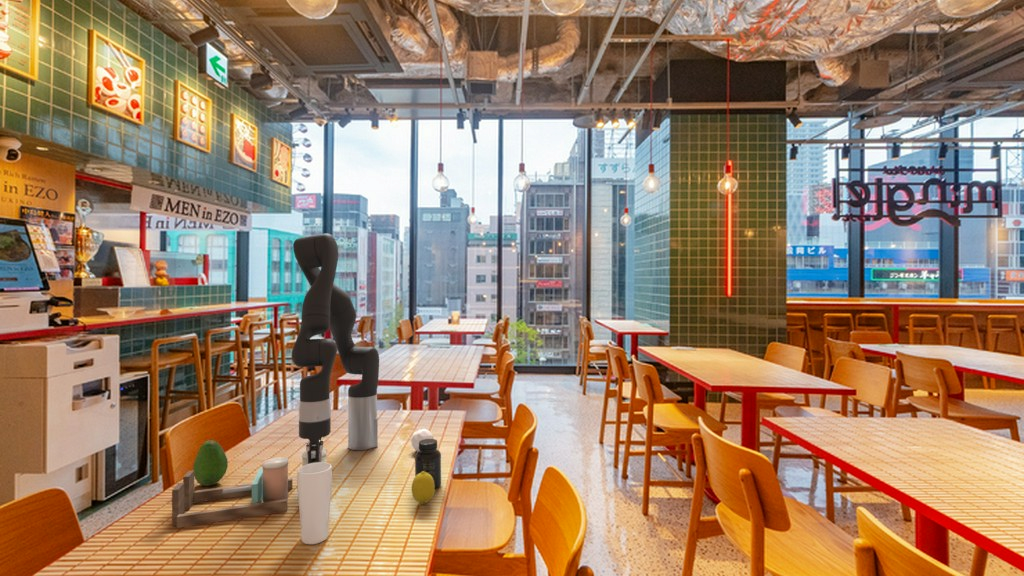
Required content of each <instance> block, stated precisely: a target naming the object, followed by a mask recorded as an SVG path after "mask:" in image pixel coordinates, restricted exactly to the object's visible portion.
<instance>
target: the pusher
mask: <svg viewBox="0 0 1024 576" xmlns="http://www.w3.org/2000/svg"><path fill="white" fill-rule="evenodd" d="M251 484H252V486H244V487H236V488H229V489H223V491H222V493H223V494H224V493H232V492H239V491H247V490H252V495H251V504H256V503H262V502H263V467H259V468H258V470H257V472H256V475H255V477H254V478H253V481H252V483H251Z"/></svg>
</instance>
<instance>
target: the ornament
mask: <svg viewBox="0 0 1024 576" xmlns="http://www.w3.org/2000/svg"><path fill="white" fill-rule="evenodd" d="M423 439H434V435H433V434H432V433H431V431H430V430H429V429H426V428H422V429H421V428H420V427H418V428H417V430H416V431H415V432H413V434H412V436H411V438H410V442H411V446H412V447H413V449H414V450H415V451H417V452H418V451H419V441H421V440H423Z"/></svg>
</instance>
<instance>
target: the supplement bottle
mask: <svg viewBox="0 0 1024 576" xmlns="http://www.w3.org/2000/svg"><path fill="white" fill-rule="evenodd" d="M422 471H424V472H426V473H428V474H430V475H431V476H432V478H433V480H434V485H435V490H434V491H436V490H438V489H439V488H440V487H441V485H442V452H440V450H438V440H437V439H434V438H433V439H423V440H421V441H419V451H417V452H416V454H415V455H414V472H415V473H414V477H415V476H416V475H417V474H419V473H421V472H422Z"/></svg>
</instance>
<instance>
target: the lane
mask: <svg viewBox="0 0 1024 576" xmlns="http://www.w3.org/2000/svg"><path fill="white" fill-rule="evenodd" d="M244 486H252V483H244V484H239V485H231V486H221V487H215V488H214V487H213V488H207V489H198V490H195V476H194V470H193V469H192V470H188V471H187V472H186V473H185V474H184V475H183V477H182V482H178V483H176V485H175V486H174V488H172V490H171V526H172V527H176V528H177V529H178V528H185V527H190V526H191V527H193V526H198V525H204V524H211V523H218V522H224V521H225V522H226V521H229V520H231V521H232V520H236V519H237V520H239V519H242V518H243V519H244V518H245V519H246V518H252V517H257V516H258V517H259V516H262V515H263V516H265V515H268V514H269V515H271V514H276V513H284V512H287V510H288V500H287V499H284V500H277V501H270V502H263V501H262V502H261V503H256V504H252V503H250V504H249V503H248V504H243V505H237V506H236V505H234V506H228V507H222V508H215V509H207V510H201V511H195V512H194V511H193V512H186V513H185V511H189V510H190V509H191V508H192V507H193V506H194V504H195V503H200V502H201V503H202V502H206V501H205V500H208V501H214V500H222V499H229V498H236V497H238V498H239V497H243V496H244V497H245V496H252V490H247V491H239V492H232V493H224V494H223V493H222V491H223V489H229V488H236V487H244ZM293 486H294V485H293V477H292V478H288V491H289V490H293Z"/></svg>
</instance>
